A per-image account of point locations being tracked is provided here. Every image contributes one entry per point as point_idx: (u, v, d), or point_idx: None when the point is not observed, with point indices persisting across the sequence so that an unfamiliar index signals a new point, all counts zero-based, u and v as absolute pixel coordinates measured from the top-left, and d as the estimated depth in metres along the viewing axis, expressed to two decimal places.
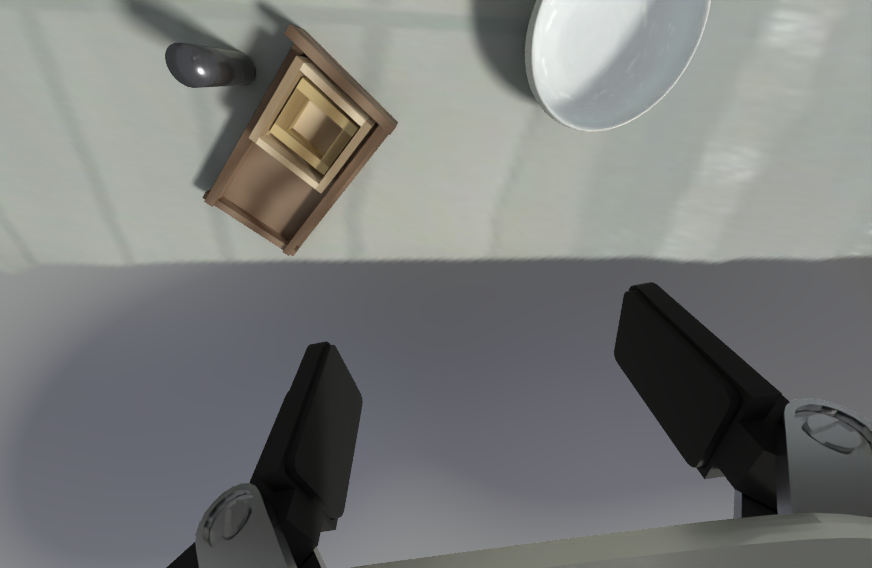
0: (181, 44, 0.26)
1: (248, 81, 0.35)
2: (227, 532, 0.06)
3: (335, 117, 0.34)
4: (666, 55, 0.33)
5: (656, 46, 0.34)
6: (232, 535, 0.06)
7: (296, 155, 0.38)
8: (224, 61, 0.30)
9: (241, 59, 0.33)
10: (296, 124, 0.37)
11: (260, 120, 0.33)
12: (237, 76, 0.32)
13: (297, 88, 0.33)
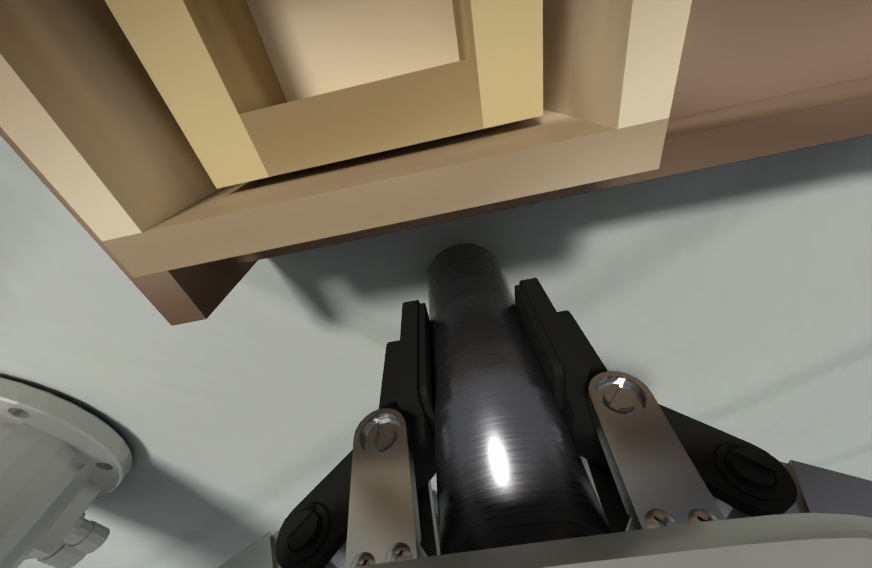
0: None
1: (467, 258, 0.12)
2: (375, 444, 0.07)
3: None
4: None
5: None
6: (378, 447, 0.07)
7: None
8: (436, 389, 0.08)
9: (429, 305, 0.12)
10: (434, 61, 0.08)
11: (517, 190, 0.05)
12: (461, 311, 0.09)
13: (266, 170, 0.07)
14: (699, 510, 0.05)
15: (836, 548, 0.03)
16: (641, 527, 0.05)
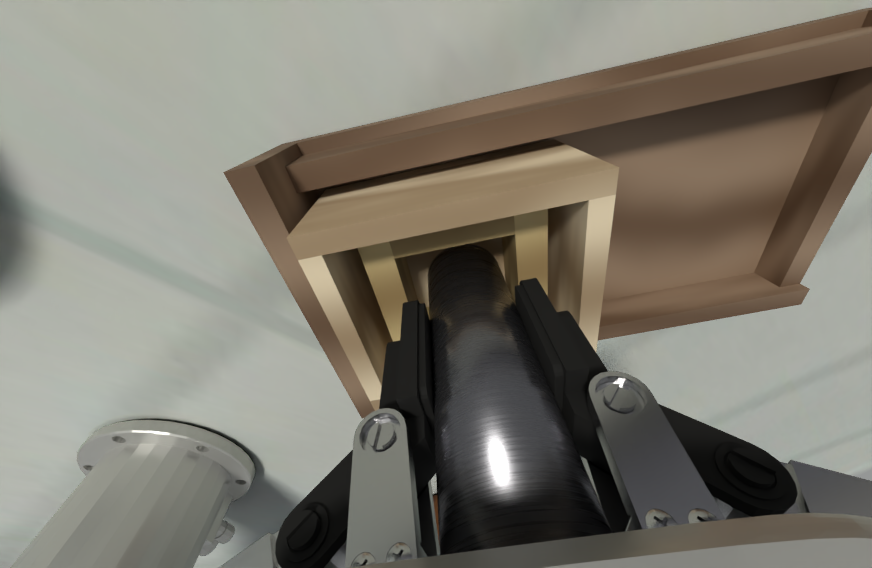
0: None
1: (467, 257, 0.12)
2: (375, 444, 0.07)
3: (392, 287, 0.13)
4: None
5: None
6: (378, 447, 0.07)
7: (553, 264, 0.14)
8: (436, 388, 0.08)
9: (429, 304, 0.12)
10: None
11: None
12: (461, 310, 0.09)
13: None
14: (699, 510, 0.05)
15: (836, 548, 0.03)
16: (641, 527, 0.05)
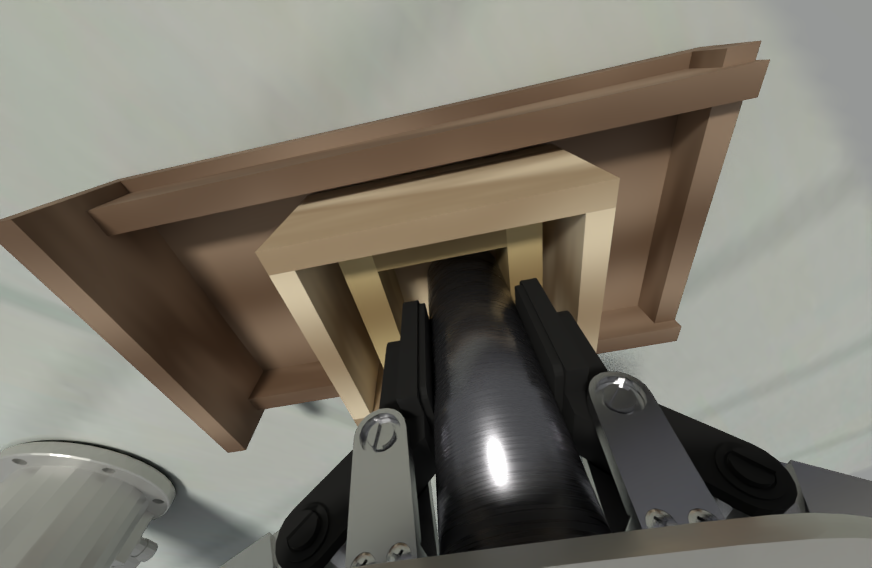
0: None
1: (466, 257, 0.12)
2: (375, 444, 0.07)
3: (376, 301, 0.12)
4: None
5: None
6: (377, 447, 0.07)
7: (549, 277, 0.13)
8: (436, 387, 0.08)
9: (429, 304, 0.12)
10: None
11: None
12: (460, 310, 0.09)
13: None
14: (699, 510, 0.05)
15: (836, 548, 0.03)
16: (641, 527, 0.05)
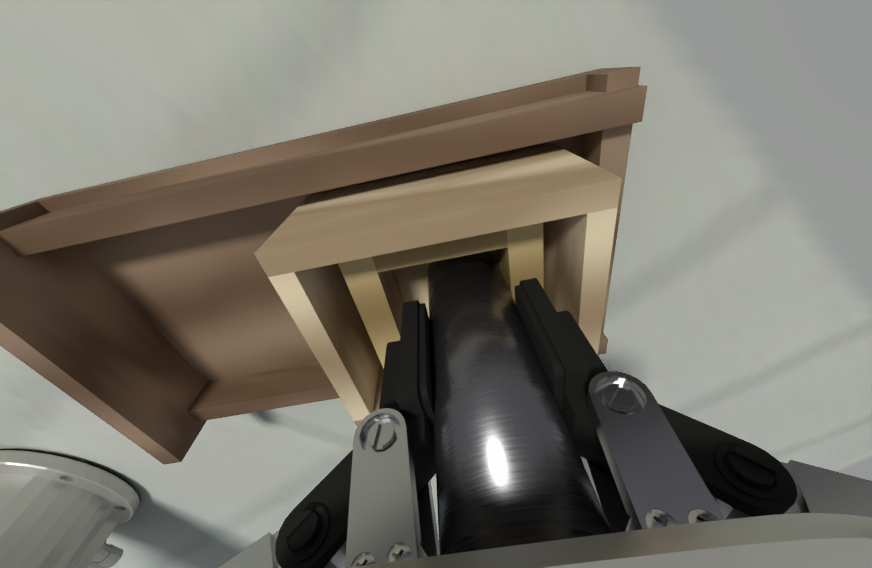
0: None
1: (466, 257, 0.12)
2: (375, 444, 0.07)
3: (376, 302, 0.12)
4: None
5: None
6: (378, 447, 0.07)
7: (550, 277, 0.13)
8: (436, 388, 0.08)
9: (429, 304, 0.12)
10: None
11: None
12: (460, 310, 0.09)
13: None
14: (699, 510, 0.05)
15: (836, 548, 0.03)
16: (641, 527, 0.05)
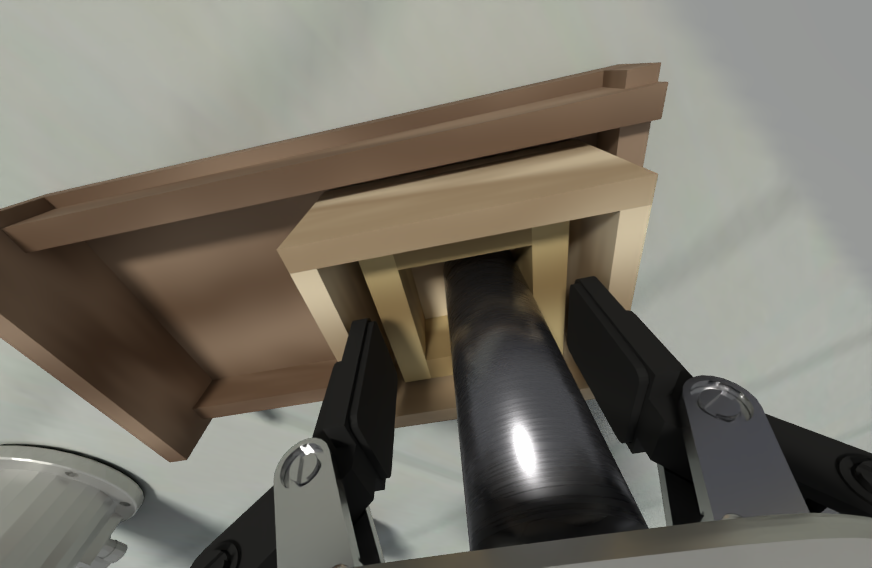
0: None
1: None
2: (299, 479, 0.07)
3: (395, 300, 0.11)
4: None
5: None
6: (302, 481, 0.07)
7: (571, 276, 0.13)
8: (458, 374, 0.08)
9: (447, 296, 0.12)
10: None
11: None
12: (480, 299, 0.10)
13: (430, 376, 0.14)
14: None
15: (836, 548, 0.03)
16: None
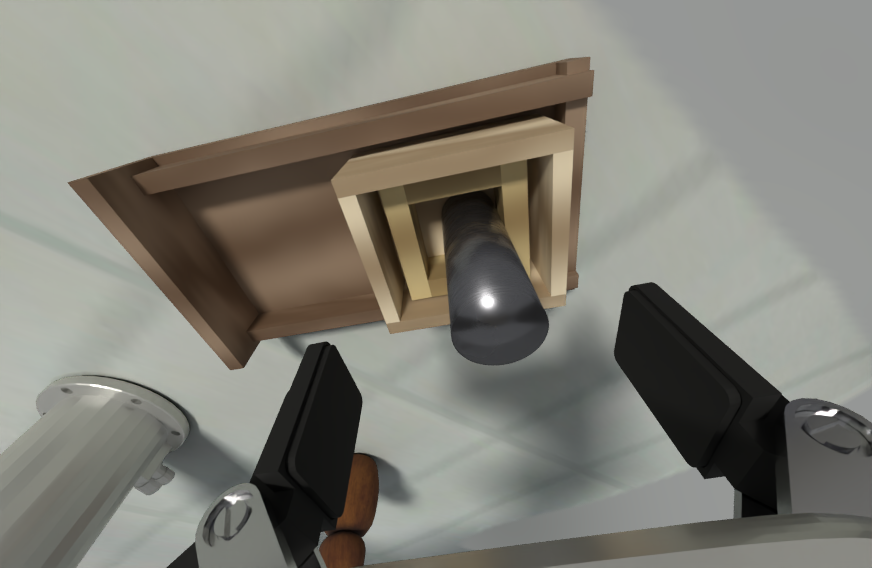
0: (465, 355, 0.11)
1: (470, 195, 0.17)
2: (227, 532, 0.06)
3: (406, 229, 0.16)
4: None
5: None
6: (231, 535, 0.06)
7: (535, 216, 0.17)
8: (448, 262, 0.13)
9: (443, 228, 0.16)
10: None
11: None
12: (465, 221, 0.14)
13: (431, 295, 0.18)
14: None
15: (836, 548, 0.03)
16: None
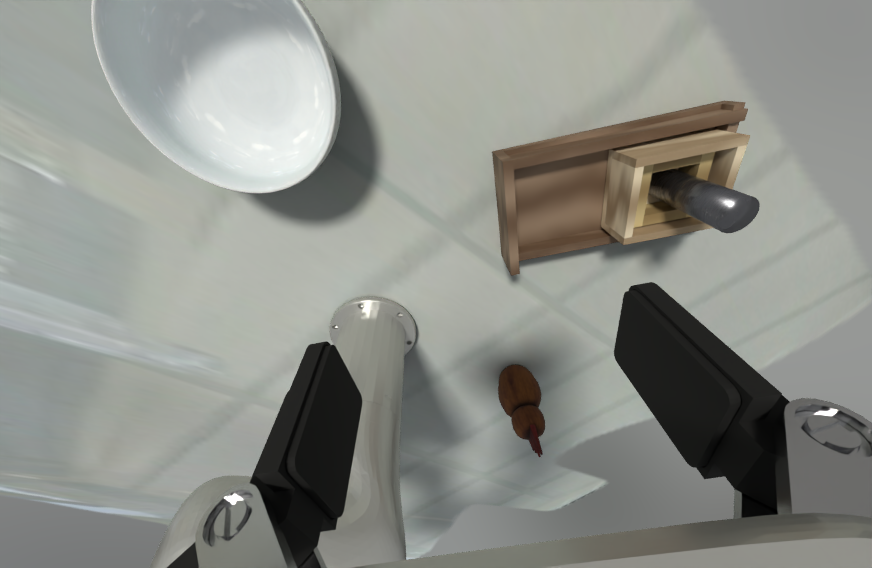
0: (719, 227, 0.27)
1: (672, 169, 0.32)
2: (227, 532, 0.06)
3: (645, 186, 0.32)
4: None
5: (162, 20, 0.25)
6: (231, 535, 0.06)
7: None
8: (691, 195, 0.29)
9: (660, 186, 0.32)
10: None
11: (696, 230, 0.33)
12: (688, 179, 0.30)
13: (642, 224, 0.34)
14: None
15: (836, 548, 0.03)
16: None
